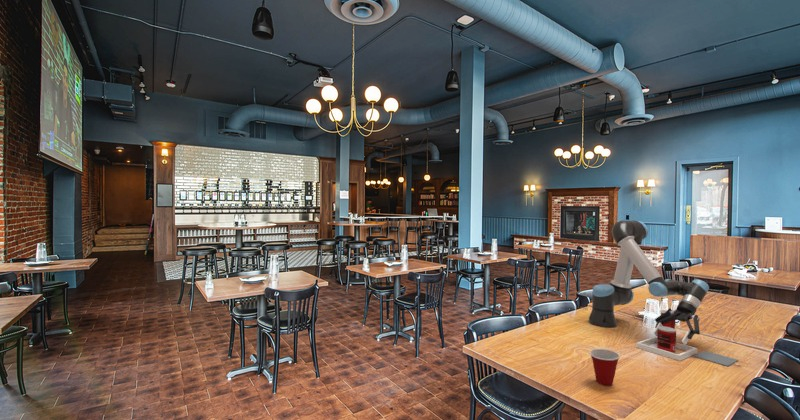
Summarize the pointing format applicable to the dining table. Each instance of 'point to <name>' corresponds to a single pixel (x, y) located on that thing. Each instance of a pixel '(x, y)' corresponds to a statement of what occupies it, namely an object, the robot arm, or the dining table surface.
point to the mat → (716, 358)
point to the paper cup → (669, 324)
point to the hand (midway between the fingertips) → (668, 338)
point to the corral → (688, 351)
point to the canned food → (666, 339)
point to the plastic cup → (604, 365)
